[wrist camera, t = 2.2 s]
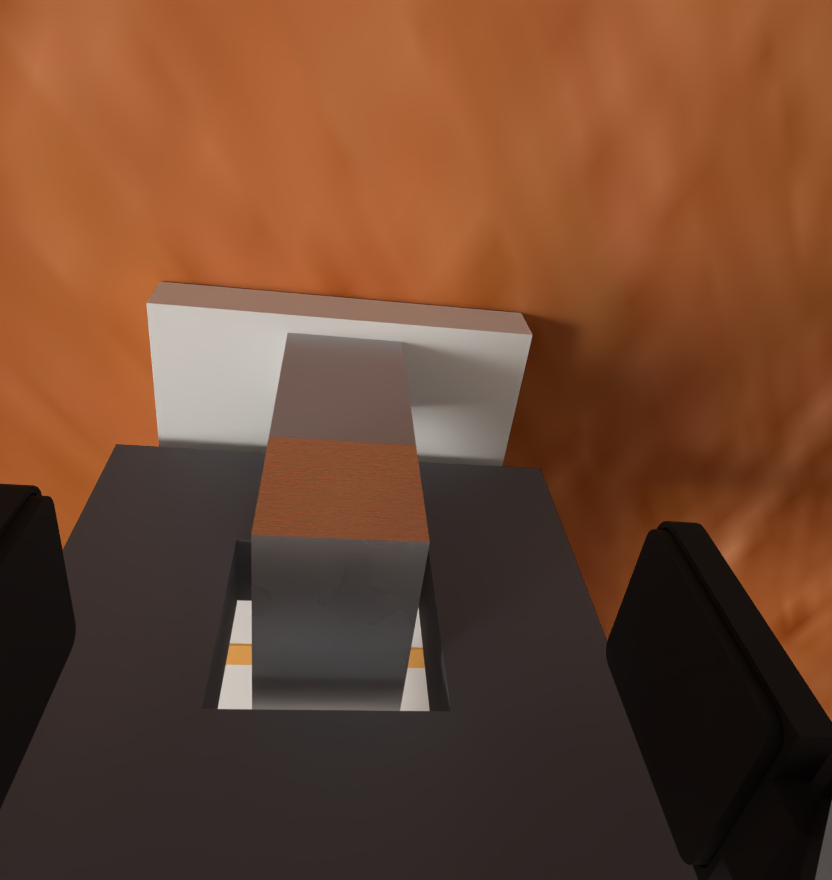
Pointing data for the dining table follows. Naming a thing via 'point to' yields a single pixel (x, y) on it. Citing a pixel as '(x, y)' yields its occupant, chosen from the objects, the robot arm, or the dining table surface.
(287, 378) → the stand
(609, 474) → the dining table surface
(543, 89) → the dining table surface
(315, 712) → the collar
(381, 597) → the grey square bar
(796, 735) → the robot arm
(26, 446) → the dining table surface
